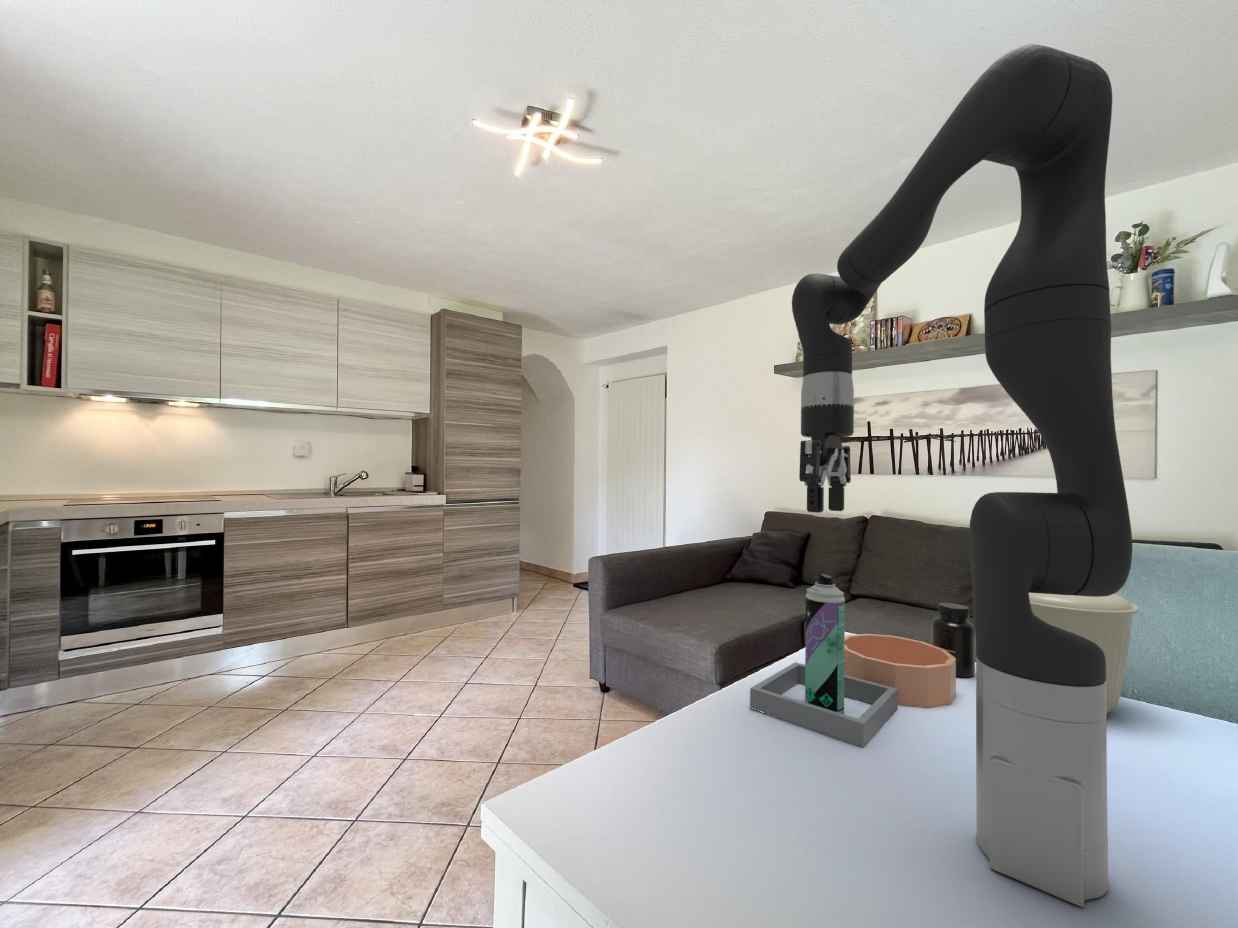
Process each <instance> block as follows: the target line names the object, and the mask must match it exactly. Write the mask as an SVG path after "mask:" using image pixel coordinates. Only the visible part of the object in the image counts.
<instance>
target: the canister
mask: <svg viewBox="0 0 1238 928" xmlns="http://www.w3.org/2000/svg"><path fill="white" fill-rule="evenodd" d="M1029 599H1030V605H1031V609H1032V612H1033V614H1034V615H1035V616H1037V617H1038V618H1039V619H1041V620H1042V621H1044V622H1046V623H1048V624H1050V625H1052V626H1055V627H1058V628H1060V629H1063V630H1066V631H1068V632H1071V633H1074V634H1077V635H1079V636H1081V637H1084V638H1086V639H1088V640H1090V641H1092V642H1093V643H1095V644H1097V645H1098V646H1099V647H1100V648H1101V649H1102V651H1103V652H1104V655H1105V659H1106V712H1107V714H1108V713H1111V712H1112V711H1113V710H1115V709H1116V707H1117V706H1118V704H1119V701H1120V700H1121V694H1122V689H1123V685H1124V679H1125V674H1126V667H1127V660H1128V654H1129V646H1130V638H1131V632H1132V623H1133V616H1134V615H1135V614H1138V612H1139V611H1140V607H1139V606H1138V605H1136V604H1134V603H1131V602H1129V601H1128V599H1126V598H1125V597H1122V596H1121V595H1119V594H1116V593H1115V594H1112V595H1109V596H1102V597H1089V596H1075V595H1057V594H1042V593H1029Z"/></svg>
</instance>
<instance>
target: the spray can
mask: <svg viewBox="0 0 1238 928" xmlns="http://www.w3.org/2000/svg"><path fill="white" fill-rule="evenodd" d="M832 579H833V578H832V575H831V574H827V573H826V574H825V573H820V574H819V578H818V580H817V581H815V584H814V585H812V586H811V587H808V588H806V594H805V643H804V645H805V649H804V650H805V653H804V654H805V656H804V657H805V659H804V660H805V661H804V662H805V663H804V665H805V685H804V702H805V703H809V704H812V705H815V706H818V707H822V708H825V709H828V710H831V711H834V712H838V713H841V714H844V713H845V696H844V645H845V636H846V635H845V634H846V633H845V628H846V627H845V622H846V621H845V620H846V619H845V618H846V617H845V616H846V614H845V613H846V609H845V607H846V606H845V604H846V603H845V602H846V600H845V599H846V598H845V597H844V595H845V593H844V591H843V590H841V589H839V588H838V587H837V586H836V584H835V583H834V581H833V580H832Z"/></svg>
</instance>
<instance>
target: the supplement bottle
mask: <svg viewBox="0 0 1238 928" xmlns="http://www.w3.org/2000/svg"><path fill="white" fill-rule="evenodd" d="M937 606H938V607H937V614H938V616H937V617H935V618H933V620H932V621H931V627H930V629H931V630H930V631H931V633H930V634H931V635H930V637H931V639H930V641H931V643H930V645H933V646H936V647H939V648H942V649H944V650H946V651H947V652H948V653H950V654H951V655H952V656H953V657H955V658H956V678H964V679H965V678H972V677H973V676H974V675H975V673H976V636H975V628H974V623H971V622H970V621H969V619H970V608H969V607H968V606H966V605H962V604H958V603H951V602H940V603H938V604H937Z"/></svg>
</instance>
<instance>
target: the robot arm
mask: <svg viewBox="0 0 1238 928" xmlns="http://www.w3.org/2000/svg"><path fill="white" fill-rule="evenodd" d="M1112 110H1113V88H1112V83H1111V80H1110V77H1109V74H1108V72H1107V71H1106V70H1105V69H1104V68H1103V67H1101V65H1099V64H1097V62H1095V61H1092V60H1091V59H1088V58H1086V57H1085V58H1084V57H1081V56H1078V55H1075V54H1072V53H1069V52H1066V51H1063V50H1059V49H1057V48H1054V47H1050V46H1047V45H1041V44H1036V43H1035V44H1034V43H1027V44H1022V45H1018V46H1016V47H1015V48H1012V49H1010V50H1009V51H1007V52H1005V53H1004V54H1002V55H1001V56H1000V57H999V58H998V59H996V60H995V61H994V62H992V63H991V64H990V65H989V67H987V69H986V70H985V71H984V72H983V73H982V74H981V75H980V76H979V78H978V79H977V80H976V81H975V82H974V83H973V84H972V86H971V87H970V88H969V90H968V91H967V92H966V93H965V95H964V96H963V97H962V98H961V100H960V101H959V103H958V104H957V105H956V107H955V108H954V110H953V111H952V112H951V114H950V115H949V117H948V118H947V119H946V120H945V122H944V124H943V125H942V127H941V128H940V129H939V130H938V132H937V133H936V135H934V138H932V140H931V141H930V143H929V144H928V146H927V147H926V149H925V150H924V151H923V153H922V154H921V156H920V157H919V158H918V160H917V162H916V163H915V164H914V165H913V167H912V169H911V170H910V171H909V173H908V174H907V176H906V177H905V179H904V181H903V182H902V183H901V184H900V186H899V187H898V189H897V190H895V193H894V194H893V195H892V197H890V199H889V200H888V201H887V203H886V204H885V205H884V206H883V207H882V209H881V210H880V211H879V212H878V214H877V215H876V216H874V218H872V219H871V221H870V222H869V223H868V224H867V225H866V226H865V228H864V229H862V230H861V232H859V233H858V235H857V236H855V238H854V239H853V240H852V241H851V242H850V243H849V244H848V245H847V246H846V248H844V249H843V251H842V252H841V254H840V255H839V257H838V258H837V259H838V260H837V263H836V268H837V273H838V276H837V275H832V274H824V273H823V274H822V273H817V272H815V273H809V274H807V275H804V276H803V277H802V278H800V280H798V282H797V283H796V285H795V287H794V290H793V293H792V298H791V310H792V311H791V312H792V316H793V320H794V323H795V327H796V331H797V335H798V338H799V341H800V345H801V349H802V371H803V372H802V382H801V383H802V384H801V393H800V435H801V436H802V437H804V438H810V439H809V440H801V441H800V448H799V449H800V450H799V472H798V473H799V481H800V482H801V483H802V482H804V486H805V487H806V511H807V512H808V513H816V514H817V513H823V512H824V506H825V505H824V503H825V502H824V500H825V499H824V498H825V497H824V496H825V491H824V490H825V488H824V485H825V482H826V481H827V483H828V486H829V487H828V510H829V511H831V512H843V511H844V510H845V488H846V487H847V484H850V483H851V481H852V479H851V473H852V472H851V447H850V445H843V441H842V439H843V438H848V437H851V436H853V435H854V431H855V429H854V427H855V426H854V425H855V421H854V420H855V419H854V417H855V415H854V414H855V413H854V412H855V410H854V409H855V405H854V404H855V401H854V399H855V389H854V388H855V387H854V382H853V345H852V342H851V340H850V339H849V338H848V337H846V336H844V335H842V334H839V333H838V332H836V331H834V330H833V329H832V327H831V325H836V326H838V325H839V326H841V325H846V324H848V323H851V322H853V321H854V320H856V319H857V318H858V317H860V316H861V315H862V313H863V312H864V311H865V309H866V308H867V306H868V305H869V303H870V302H871V300H872V298H873V297H874V295H875V294H876V293H877V291H878V289H879V288H880V286H881V285H882V283H884V282H885V281H886V280H887V279H888V278H889V277H890V276H891V275H892V274H894V273H895V272H897V270H898V269H900V268H901V267H902V266H903V265H905V264H906V263H907V262H908V261H909V260H910V259H911V258H912V257H913V256H914V255H915V254H916V253H917V251H918V250H919V249H920V247H921V246H922V245H923V243H924V242H925V240H926V238H927V236H928V233H929V231H930V229H931V227H932V224H933V220H934V217H935V215H936V212H937V209H938V206H939V204H940V202H941V200H942V199H943V197H944V196H945V194H946V193H947V192H948V191H949V189H950V188H951V187H952V186H953V185H954V183H956V181H958V180H959V179H960V178H962V176H964V175H965V174H967V172H968V171H969V170H971V169H972V168H974V167H975V166H976V165H978V164H980V162H982V161H986V162H992V163H995V164H1000V165H1003V166H1007V167H1011V168H1014V169H1015V171H1016V173H1017V176H1018V180H1019V188H1020V212H1021V213H1020V221H1019V225H1018V228H1017V229H1018V230H1017V232H1016V234H1015V236H1014V238H1013V240H1012V242H1011V244H1010V245H1009V247H1008V248H1007V249H1006V252H1005V253H1004V255H1003V257H1002V258H1001V260H1000V262H999V263H998V265H997V267H996V268H995V271H994V272H993V274H992V276H991V278H990V280H989V282H988V285H987V289H986V291H985V296H984V306H983V310H984V311H983V314H984V316H983V317H984V318H983V319H984V351H985V359H986V362H987V365H988V367H989V369H990V371H991V372H992V374H993V376H994V377H995V379H996V380H997V381H998V383H999V384H1000V385H1001V387H1002V388H1003V390H1004V391H1005V392H1006V393H1007V394H1008V396H1009V397H1010V399H1012V401H1014V403H1015V404H1016V405H1017V406H1018V408H1019V409H1020V410H1021V411H1022V412H1023V413H1024V414H1025V416H1026V417H1027V418H1028V419H1029V422H1031V423H1032V425H1033V426H1034V427H1035V429H1036V430H1037V432H1038V433H1039V435H1040V436H1041V438H1042V439H1043V441H1044V444H1045V445H1046V448H1047V451H1048V452H1049V455H1050V459H1051V462H1052V467H1053V471H1054V475H1055V481H1056V490H1057V491H1056V492H1035V491H1034V492H1030V491H1029V492H1028V491H1027V492H1025V491H1023V492H1020V491H993V492H988V493H985V494H983V495H981V497H979V498H978V500H976V502H975V504H974V506H973V508H972V510H971V515H970V519H969V529H968V531H969V533H968V536H969V538H968V539H969V559H970V570H971V586H972V587H971V588H972V615H973V626H974V628H975V636H976V637H975V673H976V674H975V675H976V676H975V678H976V680H975V681H976V682H975V684H976V685H975V686H976V687H975V704H976V705H975V711H976V712H975V714H976V715H975V723H976V724H975V725H976V726H975V728H976V729H975V737H976V738H975V745H976V746H975V747H976V748H975V750H976V751H975V761H976V762H975V763H976V764H975V766H976V767H975V769H976V770H975V772H976V774H975V775H976V777H975V779H976V780H975V783H976V785H975V786H976V787H975V789H976V791H975V796H976V797H975V798H976V802H975V803H976V807H975V808H976V841H977V844H978V846H979V848H980V850H981V851H982V852H983V853H984V855H985V856H986V857H987V858H988V860H989V868H990V869H992V870H994V871H996V872H998V873H1001V874H1003V875H1006V876H1009V877H1010V878H1013V879H1014V880H1017V881H1019V882H1022V883H1024V884H1027V885H1029V886H1032V887H1034V888H1037V889H1038V890H1041V891H1043V892H1046V893H1047V894H1051V895H1052V896H1055V897H1056V898H1059V899H1061V900H1064V901H1066V902H1068V903H1072V904H1074V905H1075V906H1079V907H1081V908H1083V907H1085V902H1086V900H1087V901H1088V900H1093V899H1098V898H1100V897H1103V896H1105V894H1106V893H1107V892H1108V890H1109V838H1108V836H1109V835H1108V832H1109V831H1108V828H1109V827H1108V755H1107V754H1108V751H1107V746H1108V743H1107V714H1108V713H1107V712H1106V659H1105V655H1104V652H1103V651H1102V649H1101V648H1100V647H1099V646H1098V645H1097V644H1095V643H1093V642H1092V641H1090V640H1088V639H1086V638H1084V637H1081V636H1079V635H1077V634H1074V633H1071V632H1068V631H1066V630H1063V629H1060V628H1058V627H1055V626H1052V625H1050V624H1048V623H1046V622H1044V621H1042V620H1041V619H1039V618H1038V617H1037V616H1035V615H1034V614H1033V612H1032V609H1031V605H1030V599H1029V593H1042V594H1057V595H1075V596H1089V597H1102V596H1109V595H1112V594H1116V593H1118V592H1119V591H1120V590H1121V589H1122V588H1123V587H1124V586H1125V584H1126V582H1127V580H1128V577H1129V575H1130V572H1131V569H1132V559H1133V535H1132V526H1131V525H1132V524H1131V520H1130V510H1129V505H1128V499H1127V498H1128V497H1127V493H1126V487H1125V480H1124V473H1123V469H1122V462H1121V457H1120V450H1119V449H1120V448H1119V444H1118V439H1117V431H1116V423H1115V422H1116V421H1115V412H1114V410H1115V409H1114V398H1113V379H1112V378H1113V377H1112V356H1111V355H1112V347H1111V346H1112V320H1111V318H1112V317H1111V300H1110V299H1111V298H1110V297H1111V296H1110V295H1111V294H1110V292H1111V291H1110V283H1109V274H1108V263H1107V262H1108V261H1107V222H1106V220H1107V219H1106V218H1107V216H1106V214H1107V213H1106V199H1105V198H1106V178H1107V177H1106V176H1107V174H1106V173H1107V162H1108V154H1109V143H1110V134H1111V127H1112V126H1111V124H1112V113H1113V111H1112Z"/></svg>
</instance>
